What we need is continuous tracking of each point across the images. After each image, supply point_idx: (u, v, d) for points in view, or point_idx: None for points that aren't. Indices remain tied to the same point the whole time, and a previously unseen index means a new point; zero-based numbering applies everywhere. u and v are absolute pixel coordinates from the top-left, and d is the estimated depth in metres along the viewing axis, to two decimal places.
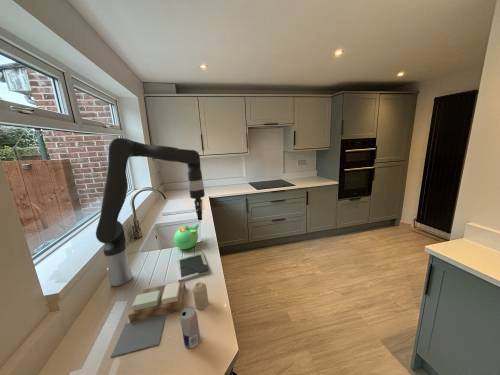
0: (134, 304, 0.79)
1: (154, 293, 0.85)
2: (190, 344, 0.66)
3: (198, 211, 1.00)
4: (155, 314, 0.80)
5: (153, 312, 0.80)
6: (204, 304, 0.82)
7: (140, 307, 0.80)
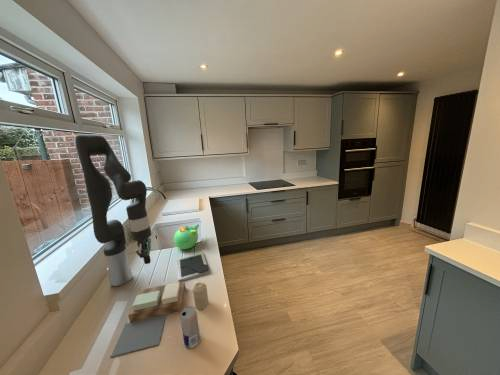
0: (134, 304, 0.79)
1: (154, 293, 0.85)
2: (190, 344, 0.66)
3: None
4: (155, 314, 0.80)
5: (153, 312, 0.80)
6: (204, 304, 0.82)
7: (140, 307, 0.80)
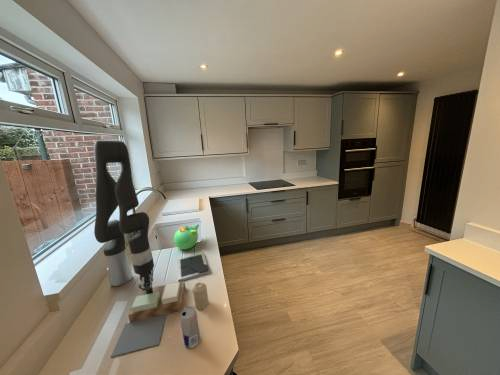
0: (133, 306, 0.79)
1: (153, 294, 0.84)
2: (190, 344, 0.66)
3: None
4: (155, 314, 0.80)
5: (153, 312, 0.80)
6: (204, 304, 0.82)
7: (139, 309, 0.79)
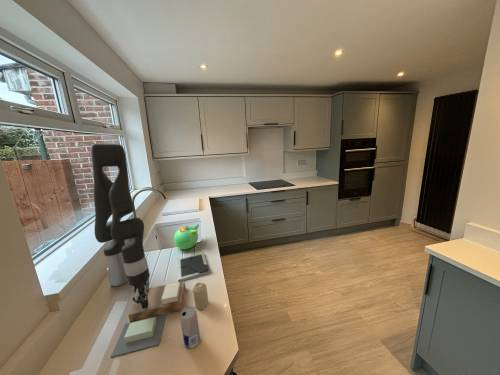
0: None
1: None
2: (190, 344, 0.66)
3: None
4: (155, 314, 0.80)
5: (153, 312, 0.80)
6: (204, 304, 0.82)
7: None
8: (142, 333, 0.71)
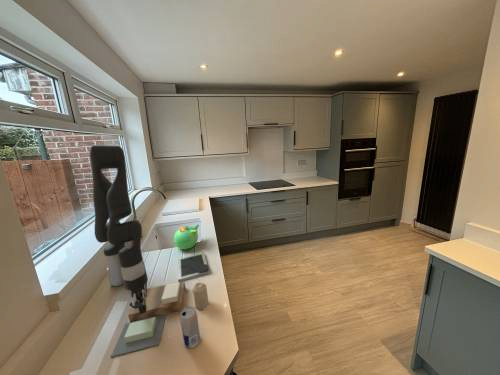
0: None
1: None
2: (190, 344, 0.66)
3: None
4: (155, 314, 0.80)
5: (153, 312, 0.80)
6: (204, 304, 0.82)
7: None
8: (142, 333, 0.71)
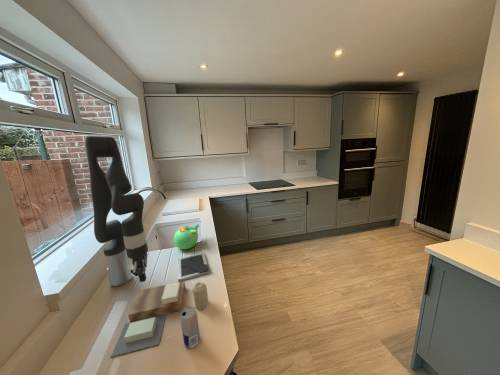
0: None
1: None
2: (190, 344, 0.66)
3: None
4: (155, 314, 0.80)
5: (153, 312, 0.80)
6: (204, 304, 0.82)
7: None
8: (142, 333, 0.71)
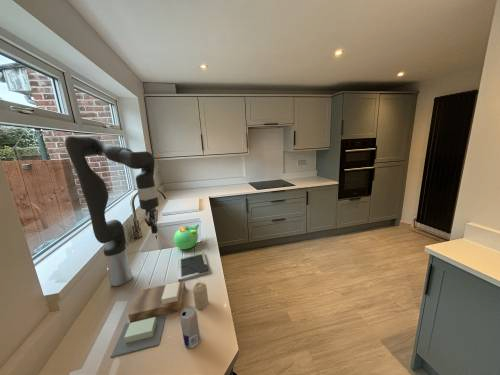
0: None
1: None
2: (190, 344, 0.66)
3: None
4: (155, 314, 0.80)
5: (153, 312, 0.80)
6: (204, 304, 0.82)
7: None
8: (142, 333, 0.71)
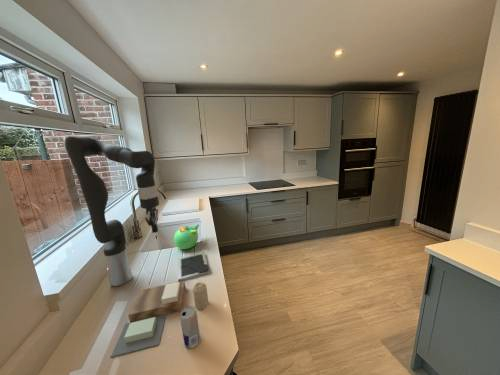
0: None
1: None
2: (190, 344, 0.66)
3: None
4: (155, 314, 0.80)
5: (153, 312, 0.80)
6: (204, 304, 0.82)
7: None
8: (142, 333, 0.71)
